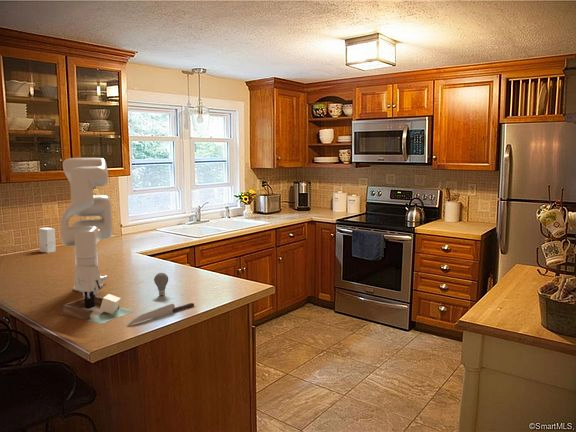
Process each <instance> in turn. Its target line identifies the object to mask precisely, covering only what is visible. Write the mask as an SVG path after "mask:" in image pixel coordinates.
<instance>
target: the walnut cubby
mask: <svg viewBox="0 0 576 432" xmlns="http://www.w3.org/2000/svg"><path fill="white" fill-rule="evenodd" d="M104 297H105V296H104ZM104 297H103V296H100V295H95V297H94V303H95V306H94V307H92V308H90V309H87V308H85V300H84V298H80V299H77V300H74V301H70V302H67V303H64V304H61V306H60V307H61V313H60V315H64V316H68V317H72V318H76V319H79V320H83V321H87V322H90V323H91V322H92V323H95V324H99V325H102V324H104V323H107V322H110V321H113V320H115V319H119V318H120V317H123V316H125V315H127V314H128V315H129V314H130V313H134V312H135V309H134V310H133V309H129V308H124V307H121V306H120V305H119V306H118V309H117V310H116V311H115V312H114V313H113V314H110V313H107V312H105V311H102V310H100V307H101V304H102V300H103V298H104Z"/></svg>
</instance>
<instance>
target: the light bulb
mask: <svg viewBox="0 0 576 432" xmlns="http://www.w3.org/2000/svg"><path fill="white" fill-rule="evenodd" d="M153 281H154V284H155V286H156V288H157V290H158V295H159V296H164V295H166V288H167V287H166V286H167V284H168V282H169V276H168V275H167V274H166V273H165V272H158V273H157V274H156V275H155V276H154V279H153Z"/></svg>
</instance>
